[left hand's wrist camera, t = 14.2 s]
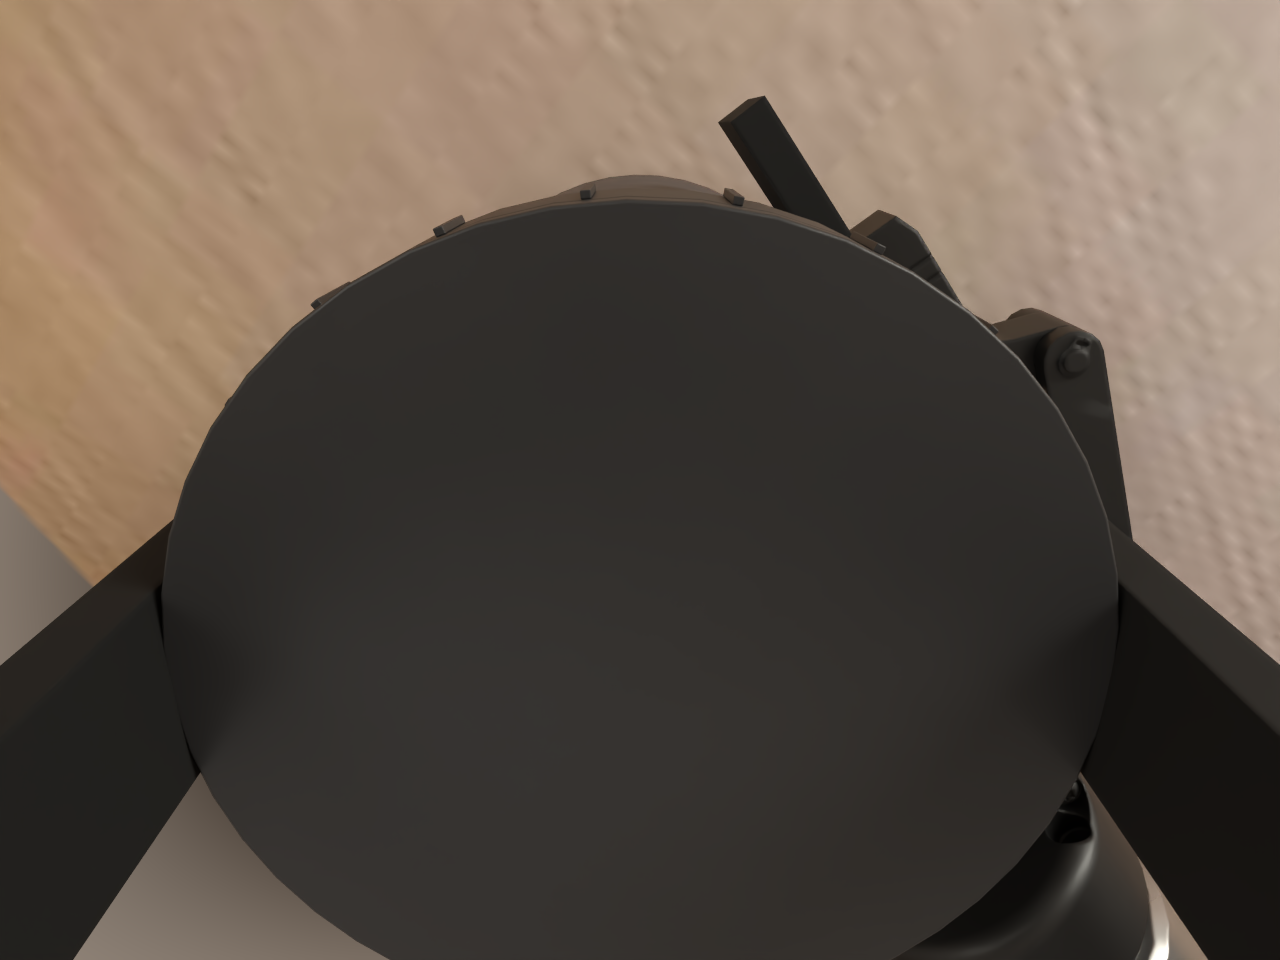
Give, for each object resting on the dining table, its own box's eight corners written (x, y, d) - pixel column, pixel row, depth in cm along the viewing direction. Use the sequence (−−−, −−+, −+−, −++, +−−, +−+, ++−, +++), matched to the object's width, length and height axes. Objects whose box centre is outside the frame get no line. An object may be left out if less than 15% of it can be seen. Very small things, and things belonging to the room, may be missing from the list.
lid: (242, 897, 14) (193, 993, 13) (180, 125, 10) (96, 126, 8) (947, 953, 15) (984, 1052, 13) (1180, 239, 10) (1276, 260, 9)
